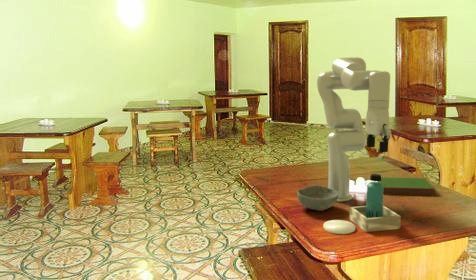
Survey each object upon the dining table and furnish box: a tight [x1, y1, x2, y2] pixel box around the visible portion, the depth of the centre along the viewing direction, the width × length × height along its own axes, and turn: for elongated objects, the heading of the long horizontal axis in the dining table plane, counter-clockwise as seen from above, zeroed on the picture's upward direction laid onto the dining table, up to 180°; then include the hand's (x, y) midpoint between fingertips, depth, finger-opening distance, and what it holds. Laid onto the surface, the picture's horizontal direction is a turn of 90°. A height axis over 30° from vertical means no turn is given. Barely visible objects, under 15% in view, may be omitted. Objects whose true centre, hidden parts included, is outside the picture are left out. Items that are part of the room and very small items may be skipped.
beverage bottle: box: [365, 173, 384, 218], centre depth 165 cm, size 6×7×20 cm
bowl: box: [296, 184, 338, 212], centre depth 185 cm, size 18×18×8 cm
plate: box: [322, 219, 356, 235], centre depth 163 cm, size 12×12×1 cm
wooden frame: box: [349, 205, 402, 233], centre depth 167 cm, size 14×14×5 cm
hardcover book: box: [377, 176, 436, 196], centre depth 211 cm, size 25×19×4 cm
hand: (376, 149), depth 162 cm, fingers open, 9 cm apart
